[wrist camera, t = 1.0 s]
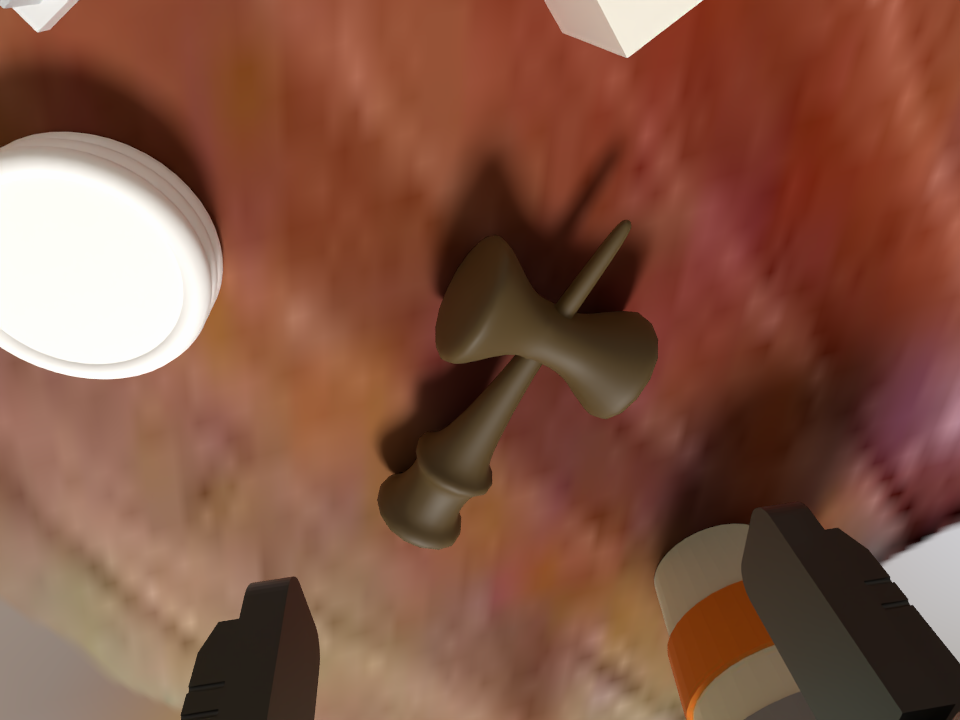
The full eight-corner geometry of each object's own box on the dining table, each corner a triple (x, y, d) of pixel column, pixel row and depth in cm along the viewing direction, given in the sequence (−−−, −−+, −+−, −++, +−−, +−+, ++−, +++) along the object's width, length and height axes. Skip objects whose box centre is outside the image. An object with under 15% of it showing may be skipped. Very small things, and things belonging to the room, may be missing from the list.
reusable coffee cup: (633, 521, 42) (744, 762, 29) (814, 490, 43) (997, 712, 30) (626, 635, 49) (713, 871, 36) (782, 607, 49) (920, 827, 37)
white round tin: (-41, 297, 28) (-89, 337, 25) (-10, 81, 24) (-64, 99, 21) (192, 370, 32) (173, 412, 29) (254, 193, 28) (239, 220, 25)
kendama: (335, 457, 36) (523, 146, 28) (478, 501, 40) (681, 239, 32) (331, 540, 31) (556, 193, 23) (494, 581, 35) (739, 297, 27)
